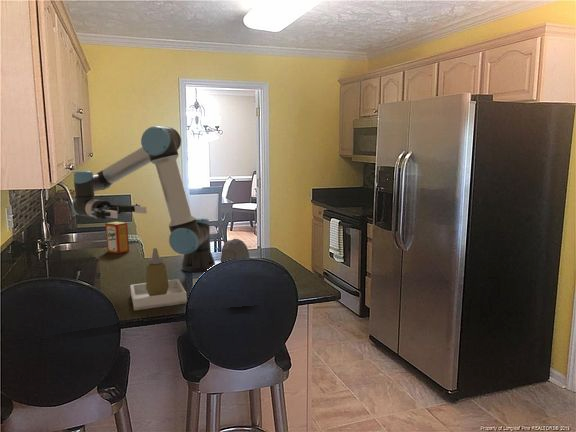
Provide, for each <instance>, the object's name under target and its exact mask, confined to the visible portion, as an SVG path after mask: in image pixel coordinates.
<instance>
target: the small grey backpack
mask: <svg viewBox="0 0 576 432" xmlns="http://www.w3.org/2000/svg"><path fill="white" fill-rule="evenodd" d="M236 258H249V259H250V252H249V248H248V247H247V245H246V244H245V243H244V241H243V240H241V239H239V238H233V239H230V240H227V241H226V242H224V243H223V245H222V248H221V255H220V263H221V262H224V261H227V260H230V259H236Z"/></svg>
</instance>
